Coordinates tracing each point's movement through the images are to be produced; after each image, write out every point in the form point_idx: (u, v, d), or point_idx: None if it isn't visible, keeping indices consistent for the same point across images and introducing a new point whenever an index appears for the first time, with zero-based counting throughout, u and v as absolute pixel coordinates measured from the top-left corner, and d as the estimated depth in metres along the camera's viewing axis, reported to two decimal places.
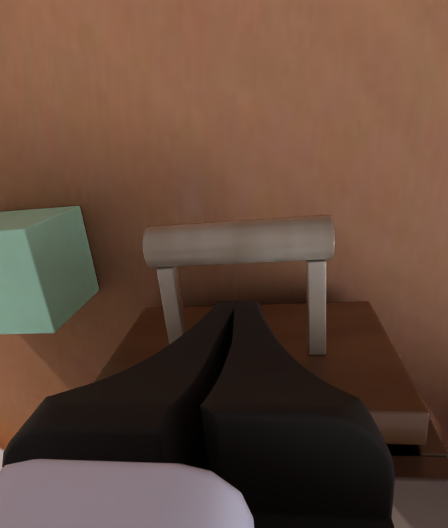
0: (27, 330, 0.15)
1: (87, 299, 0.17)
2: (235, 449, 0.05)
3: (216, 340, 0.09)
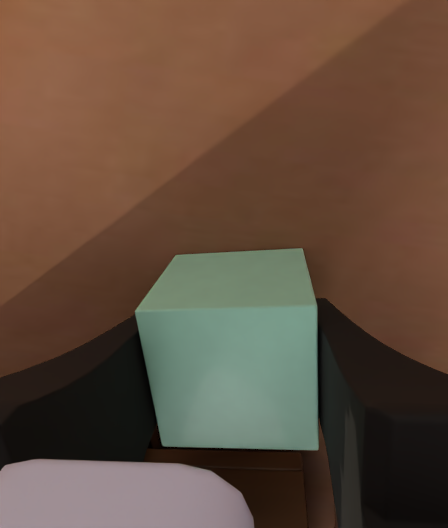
0: (160, 415, 0.10)
1: None
2: (408, 453, 0.04)
3: (127, 342, 0.09)
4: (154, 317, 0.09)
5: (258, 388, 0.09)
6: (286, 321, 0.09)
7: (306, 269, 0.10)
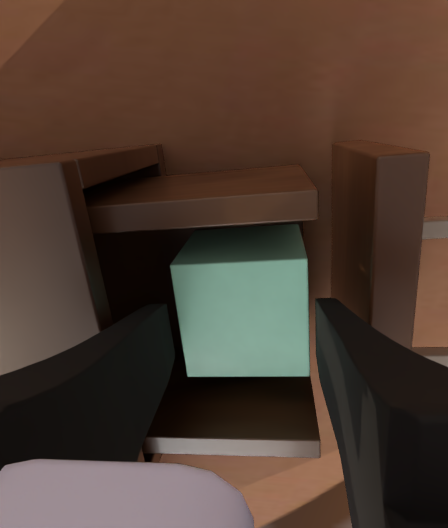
0: (187, 350, 0.13)
1: None
2: (434, 454, 0.04)
3: (121, 342, 0.09)
4: (184, 270, 0.12)
5: (262, 326, 0.12)
6: (284, 271, 0.11)
7: (300, 237, 0.13)
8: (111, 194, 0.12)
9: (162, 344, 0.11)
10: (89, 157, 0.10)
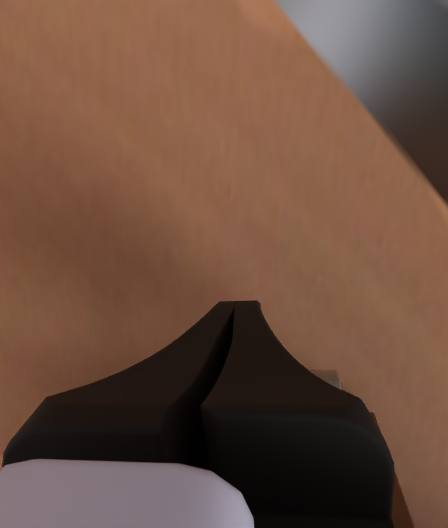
0: None
1: None
2: (235, 449, 0.05)
3: (216, 340, 0.09)
4: None
5: None
6: None
7: None
8: None
9: None
10: None
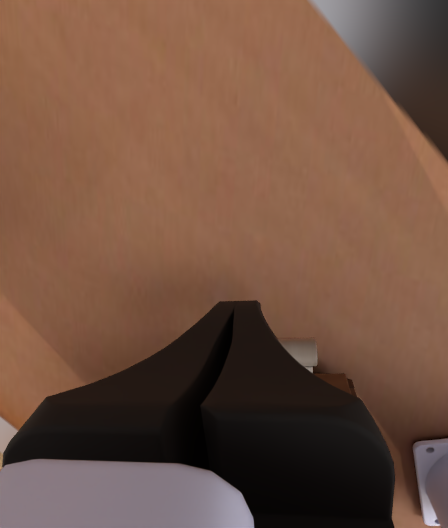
0: None
1: None
2: (235, 449, 0.05)
3: (216, 340, 0.09)
4: None
5: None
6: None
7: None
8: None
9: None
10: None
